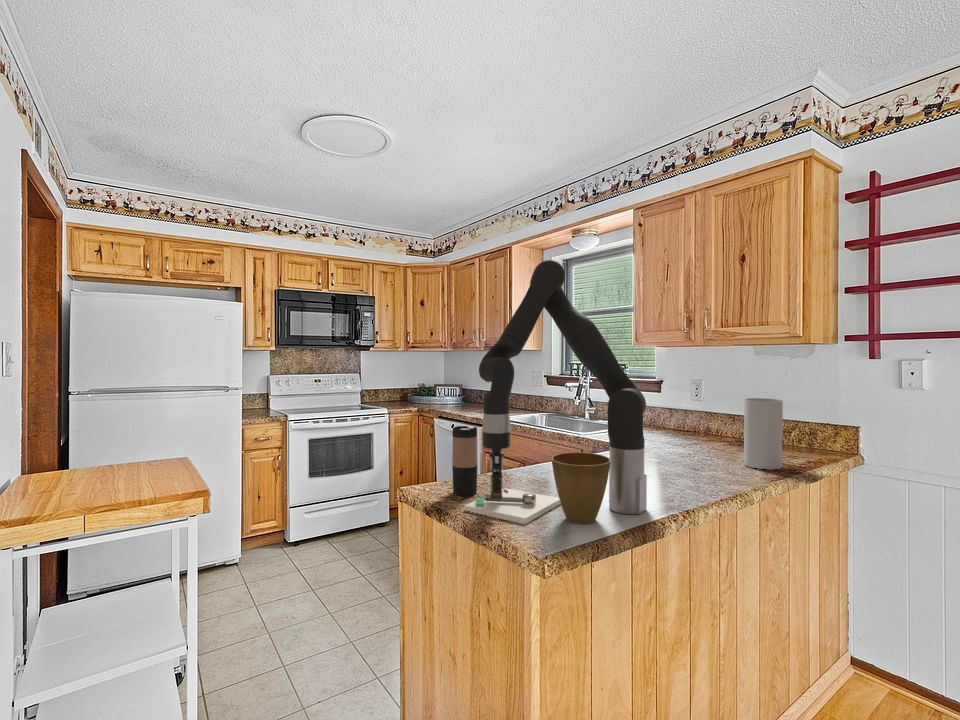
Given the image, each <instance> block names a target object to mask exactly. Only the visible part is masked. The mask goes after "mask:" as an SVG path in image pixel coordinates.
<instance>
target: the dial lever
mask: <svg viewBox="0 0 960 720" xmlns="http://www.w3.org/2000/svg"><path fill="white" fill-rule="evenodd" d="M502 489H503V478H502V479H501V493H493V479H492V474H491V475H490V494H491V496H486V501H496V502H519V503H525V504H535V503H536V495H535V494H536V493H535V494H532V493H533V492H529V493H525V494H523V498H517V497H502Z"/></svg>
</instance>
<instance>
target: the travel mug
mask: <svg viewBox="0 0 960 720" xmlns="http://www.w3.org/2000/svg"><path fill="white" fill-rule="evenodd" d="M451 453H452V459H451V460H452V466H451V467H452V468H451V469H452V492H453V495H454V494H456V495H455V496H457V495H461V496H460V497H472V496H471V495H473V496H476V495H477V492H478V491H477V489H478V428H477V427H476V426H474V427H472V428H471V427H469V426H467V425H461V426H460V425H459V426H454V427H452V452H451Z"/></svg>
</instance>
